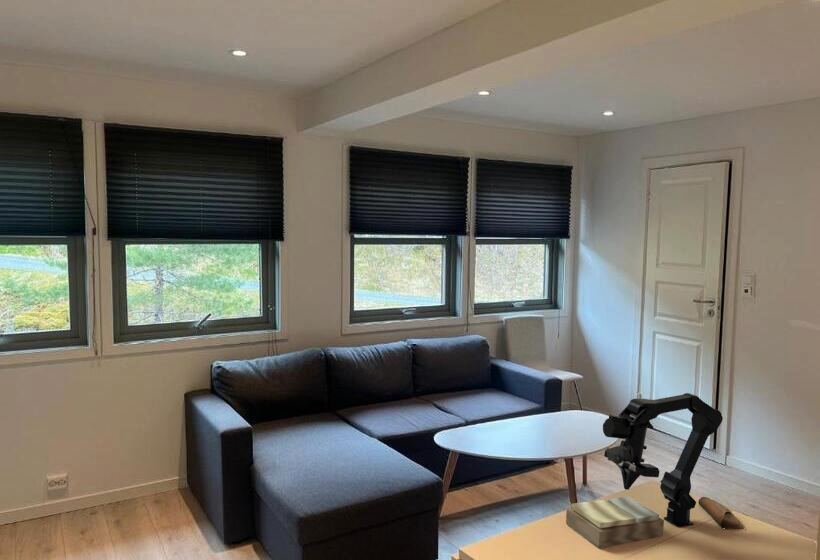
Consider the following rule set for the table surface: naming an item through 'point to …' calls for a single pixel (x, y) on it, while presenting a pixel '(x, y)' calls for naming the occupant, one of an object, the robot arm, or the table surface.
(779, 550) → the table surface
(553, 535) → the table surface
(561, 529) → the table surface
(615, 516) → the pale yellow square slab
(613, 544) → the floor base
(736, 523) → the sunglasses case
